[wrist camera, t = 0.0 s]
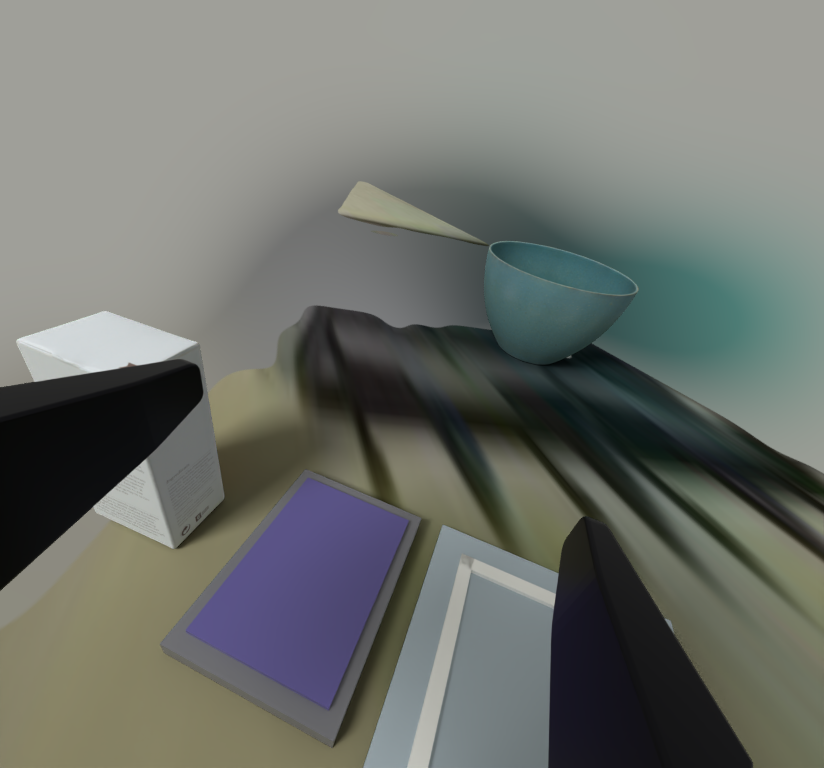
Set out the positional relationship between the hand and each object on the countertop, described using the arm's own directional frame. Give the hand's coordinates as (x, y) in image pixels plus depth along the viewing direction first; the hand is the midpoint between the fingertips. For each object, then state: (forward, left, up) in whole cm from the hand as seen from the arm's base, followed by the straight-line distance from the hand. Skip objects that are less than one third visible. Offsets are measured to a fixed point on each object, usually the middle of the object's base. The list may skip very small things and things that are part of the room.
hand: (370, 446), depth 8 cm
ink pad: (+5, +3, -16) cm, 18 cm away
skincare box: (+5, +14, -17) cm, 23 cm away
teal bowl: (+45, -6, -17) cm, 48 cm away
